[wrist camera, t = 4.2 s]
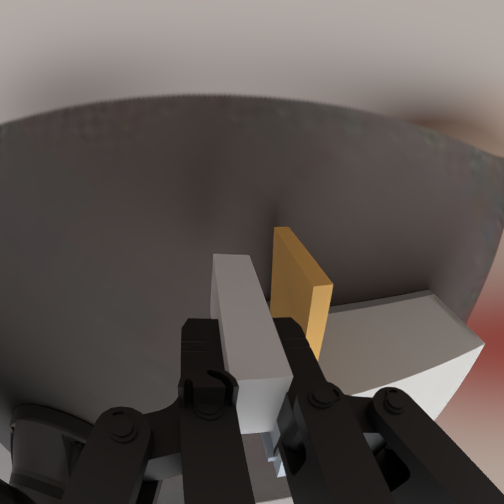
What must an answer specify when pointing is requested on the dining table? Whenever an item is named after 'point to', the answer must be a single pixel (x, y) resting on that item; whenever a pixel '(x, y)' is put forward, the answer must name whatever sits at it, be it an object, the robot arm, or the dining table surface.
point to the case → (399, 348)
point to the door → (296, 304)
